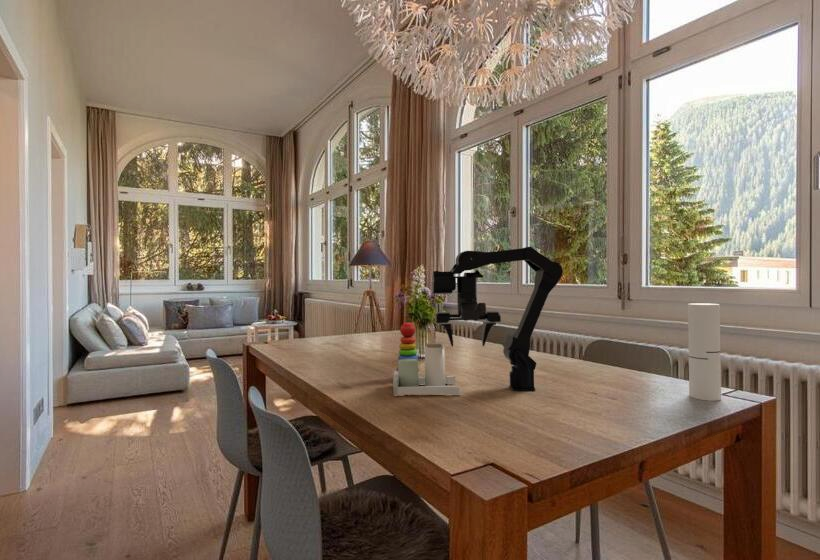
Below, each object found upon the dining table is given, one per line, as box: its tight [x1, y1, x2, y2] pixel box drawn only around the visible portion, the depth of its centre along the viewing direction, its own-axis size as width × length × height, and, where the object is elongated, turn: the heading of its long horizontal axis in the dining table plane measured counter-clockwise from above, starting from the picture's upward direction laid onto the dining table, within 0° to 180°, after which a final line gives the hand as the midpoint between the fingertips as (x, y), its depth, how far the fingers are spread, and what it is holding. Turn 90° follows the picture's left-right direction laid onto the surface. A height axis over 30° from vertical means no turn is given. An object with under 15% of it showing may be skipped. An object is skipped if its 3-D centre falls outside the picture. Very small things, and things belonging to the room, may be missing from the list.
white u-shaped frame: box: [392, 370, 461, 396], centre depth 133 cm, size 19×15×4 cm
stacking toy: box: [395, 321, 421, 377], centre depth 148 cm, size 8×8×19 cm
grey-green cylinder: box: [397, 359, 420, 387], centre depth 133 cm, size 6×6×9 cm
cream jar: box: [424, 342, 446, 386], centre depth 133 cm, size 6×6×14 cm
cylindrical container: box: [687, 302, 722, 402], centre depth 120 cm, size 7×7×25 cm
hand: (467, 346), depth 132 cm, fingers open, 9 cm apart
